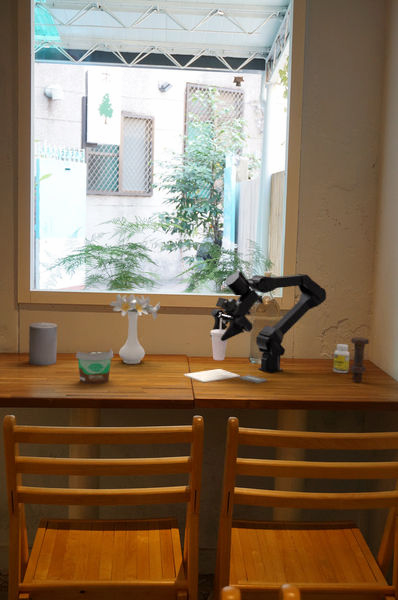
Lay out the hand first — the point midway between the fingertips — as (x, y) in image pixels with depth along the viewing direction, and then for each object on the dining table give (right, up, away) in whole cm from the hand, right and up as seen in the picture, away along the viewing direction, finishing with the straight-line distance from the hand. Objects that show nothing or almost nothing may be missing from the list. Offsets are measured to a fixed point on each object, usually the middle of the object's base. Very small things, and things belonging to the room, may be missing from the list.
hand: (216, 338), depth 224 cm
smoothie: (+1, -7, +2) cm, 8 cm away
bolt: (+48, -15, +2) cm, 51 cm away
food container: (-39, -14, -12) cm, 43 cm away
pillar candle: (-62, -10, +13) cm, 64 cm away
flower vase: (-30, -10, +19) cm, 37 cm away
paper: (-1, -13, +2) cm, 13 cm away
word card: (+12, -14, -1) cm, 19 cm away
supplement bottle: (+46, -13, +16) cm, 50 cm away
